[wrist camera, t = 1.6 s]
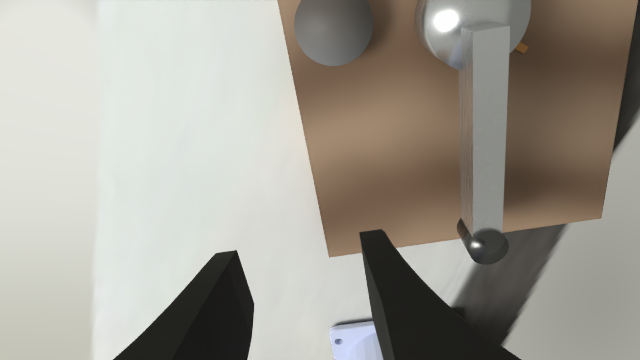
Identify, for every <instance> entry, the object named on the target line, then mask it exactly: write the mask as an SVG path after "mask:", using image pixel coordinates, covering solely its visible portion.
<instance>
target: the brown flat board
mask: <svg viewBox="0 0 640 360" xmlns="http://www.w3.org/2000/svg"><path fill="white" fill-rule="evenodd" d="M417 1H418V0H278V5H279V10H280V15H281V20H282V25H283V30H284V35H285V40H286V45H287V50H288V55H289V60H290V65H291V70H292V75H293V80H294V85H295V90H296V95H297V100H298V105H299V110H300V115H301V120H302V125H303V130H304V135H305V140H306V145H307V149H308V154H309V159H310V164H311V169H312V174H313V179H314V184H315V189H316V194H317V199H318V204H319V209H320V214H321V219H322V224H323V229H324V234H325V239H326V244H327V249H328V254H329V257H335V256H342V255H349V254H356V253H362V248H361V241H360V234H359V232H364V231H371V230H378V229H382V230H383V231H385V232H386V234H387V236H388V238H389V239H390V241H391V242H392V244H393V245H394V247H395V248H398V247H405V246H412V245H419V244H426V243H433V242H440V241H447V240H454V239H460V236H459V234H458V232H457V223H458V221H459V219H460V218H461V198H460V138H459V78H458V69H455V68H453V67H451V66H449V65H447V64H445V63H444V62H443V61H441V60H440V59H438V58H437V57H435V56H434V55H432V54H431V53H429V52H428V51H427V50H426V49H425V48H424V46H423V45H422V44H421V42H420V40H419V38H418V36H417V33H416V29H415V22H414V16H415V8H416V4H417ZM637 3H638V0H531V13H530V19H529V23H528V26H527V29H526V31H525V33H524V35H523V37H522V39H521V41H520V42H519V44H518V45H517V46H516V47H515V49H514V50H513V51H512V52H511V53H510V54H509V73H508V98H507V124H506V150H505V176H504V201H503V227H502V232H509V231H516V230H523V229H530V228H537V227H544V226H551V225H558V224H565V223H572V222H579V221H585V220H592V219H600V218H601V217H602V211H603V205H604V199H605V193H606V187H607V180H608V175H609V169H610V163H611V157H612V151H613V146H614V140H615V134H616V128H617V122H618V116H619V110H620V104H621V98H622V92H623V86H624V80H625V74H626V68H627V63H628V57H629V51H630V45H631V39H632V33H633V27H634V21H635V15H636V9H637Z"/></svg>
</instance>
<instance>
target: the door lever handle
mask: <svg viewBox="0 0 640 360" xmlns="http://www.w3.org/2000/svg"><path fill="white" fill-rule="evenodd" d="M530 13H531V0H418V1H417V4H416V8H415V16H414V22H415V29H416V33H417V36H418V38H419V40H420V42H421V44H422V45H423V46H424V48H425V49H426V50H427V51H428V52H429V53H431V54H432V55H434V56H435V57H437V58H438V59H440V60H441V61H443V62H444V63H445V64H447V65H449V66H451V67H453V68H455V69H458V78H459V138H460V198H461V218H460V219H459V221H458V223H457V232H458V234H459V236H460V238H461V240H462V241H463V243H464V245H465V247H466V249H467V251H468V252H469V254H470V256H471V258H472V259H473V260H474V261H475V262H477V263H479V264H492V263H495V262H497V261H499V260H501V259H502V258H503V257H504V256H505V255H506V253H507V251H508V248H509V244H508V241H507V239H506V238H505V236H504V235H503V234H502V227H503V201H504V176H505V150H506V124H507V98H508V73H509V54H510V53H511V52H512V51H513V50H514V49H515V47H516V46H517V45H518V44H519V42H520V41H521V39H522V37H523V35H524V33H525V31H526V29H527V26H528V23H529V19H530Z"/></svg>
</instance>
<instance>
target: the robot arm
mask: <svg viewBox="0 0 640 360" xmlns="http://www.w3.org/2000/svg"><path fill="white" fill-rule="evenodd" d="M359 234H360V241H361V248H362V254H363V261H364V267H365V274H366V280H367V287H368V293H369V299H370V305H371V311H372V317H373V321H369V322H361V323H353V324H346V325H338V326H334V327H332V328H331V329H330V332H329V334H330V340H331V345H332V349H333V354H334V358H335V360H521V359H519V358H518V357H516V356H515V355H513V354H512V353H511V352H509V351H508V350H506V349H505V348H503V347H502V346H500V345H499V344H497V343H496V342H494V341H493V340H492V339H490V338H489V337H487V336H486V335H484V334H483V333H482V332H480V331H479V330H478V329H476V328H475V327H474V326H473V325H471V324H470V323H469V322H467V321H466V320H465V319H464V318H462V317H461V316H460V315H459V314H458V313H457V312H455V311H454V310H453V309H452V308H451V307H450V306H448V305H447V304H446V303H445V302H444V301H443V300H442V299H441V298H440V297H439V296H438V295H437V294H436V293H435V292H434V291H433V290H432V289H431V288H430V287H428V286H427V285H426V283H425V282H424V281H423V280H422V279H421V278H420V277H419V276H418V275H417V274H416V273H415V271H414V270H413V269H412V268H411V267H410V266H409V265H408V263H407V262H406V261H405V260H404V259H403V257H402V256H401V255H400V253H399V252H398V251H397V249H396V248H395V247H394V245H393V244H392V242H391V241H390V239H389V238H388V236H387V234H386V232H385V231H383V230H382V229H378V230H371V231H364V232H359ZM253 314H254V302H253V299H252V296H251V293H250V290H249V287H248V284H247V280H246V277H245V274H244V271H243V268H242V265H241V262H240V259H239V256H238V253H237V250H235V251H228V252H222V253H216V254H215V255H214V256H213V257H212V258H211V259H210V260H209V261H208V262H207V264H206V265H205V266H204V267H203V268H202V269H201V270H200V272H199V273H198V274H197V275H196V276H195V277H194V279H193V280H192V281H191V282H190V283H189V284H188V285H187V287H186V288H185V289H184V290H183V291H182V292H181V293H180V294H179V295H178V297H177V298H176V299H175V300H174V301H173V302H172V303H171V304H170V305H169V306H168V307H167V308H166V309H165V311H164V312H163V313H162V314H161V315H160V316H159V317H158V318H157V319H156V320H155V321H154V322H153V323H152V324H151V325H150V326H149V327H148V328H147V329H146V330H145V331H144V332H143V333H142V334H141V335H140V336H139V337H138V338H137V339H136V340H135V341H133V342H132V343H131V344H130V345H129V346H128V347H127V348H126V349H125V350H124V351H122V352H121V353H120V354H119V355H118V356H117V357H116V358H114V359H113V360H247V358H248V353H249V348H250V343H251V338H252V328H253ZM338 339H339V340H338Z"/></svg>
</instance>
